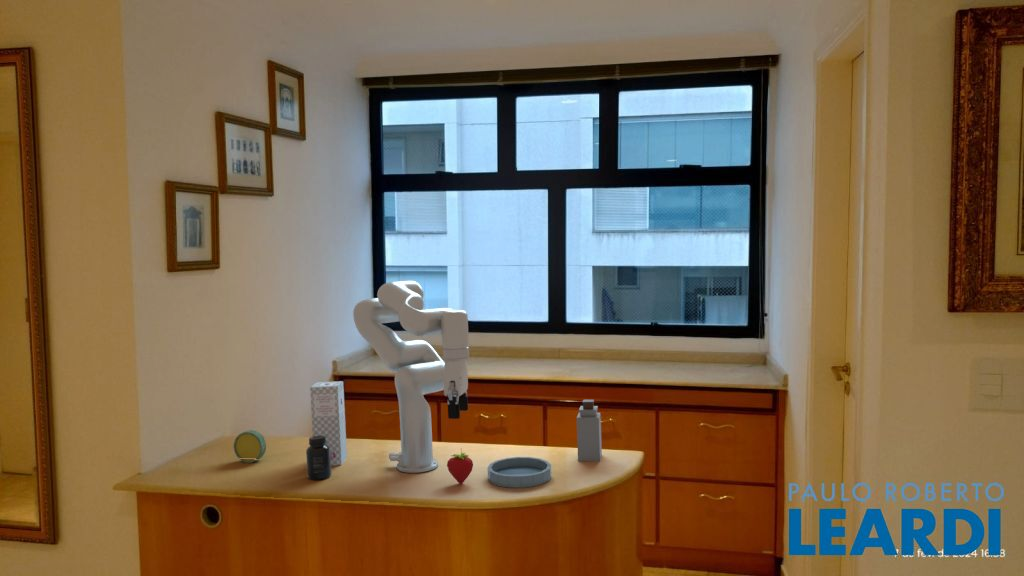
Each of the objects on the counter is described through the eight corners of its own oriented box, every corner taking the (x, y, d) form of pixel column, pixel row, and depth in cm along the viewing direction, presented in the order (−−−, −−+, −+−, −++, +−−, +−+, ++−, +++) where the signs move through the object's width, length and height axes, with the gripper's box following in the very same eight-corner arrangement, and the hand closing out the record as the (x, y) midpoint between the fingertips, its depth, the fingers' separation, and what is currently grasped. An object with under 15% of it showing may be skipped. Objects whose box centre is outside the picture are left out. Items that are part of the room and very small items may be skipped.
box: (314, 466, 223) (310, 387, 222) (320, 458, 231) (316, 382, 230) (341, 465, 223) (337, 386, 222) (346, 457, 232) (343, 381, 230)
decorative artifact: (234, 462, 230) (232, 432, 230) (246, 456, 237) (244, 426, 237) (262, 463, 228) (260, 432, 228) (274, 456, 235) (272, 426, 235)
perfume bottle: (600, 461, 217) (598, 403, 216) (578, 460, 219) (576, 403, 218) (601, 455, 224) (600, 398, 223) (580, 454, 225) (578, 398, 224)
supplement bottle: (335, 474, 214) (333, 434, 213) (322, 481, 208) (320, 441, 207) (316, 472, 216) (314, 433, 216) (302, 479, 210) (300, 439, 209)
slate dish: (482, 487, 198) (482, 475, 197) (495, 467, 215) (494, 456, 215) (547, 488, 195) (546, 476, 194) (554, 468, 212) (553, 457, 212)
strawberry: (450, 479, 205) (449, 445, 205) (476, 480, 204) (474, 445, 203) (445, 486, 200) (443, 451, 199) (471, 487, 198) (469, 451, 198)
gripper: (450, 349, 209) (453, 407, 210) (434, 359, 192) (437, 421, 193) (475, 349, 208) (477, 407, 208) (461, 358, 190) (464, 421, 191)
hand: (458, 414), depth 201 cm, fingers open, 9 cm apart
